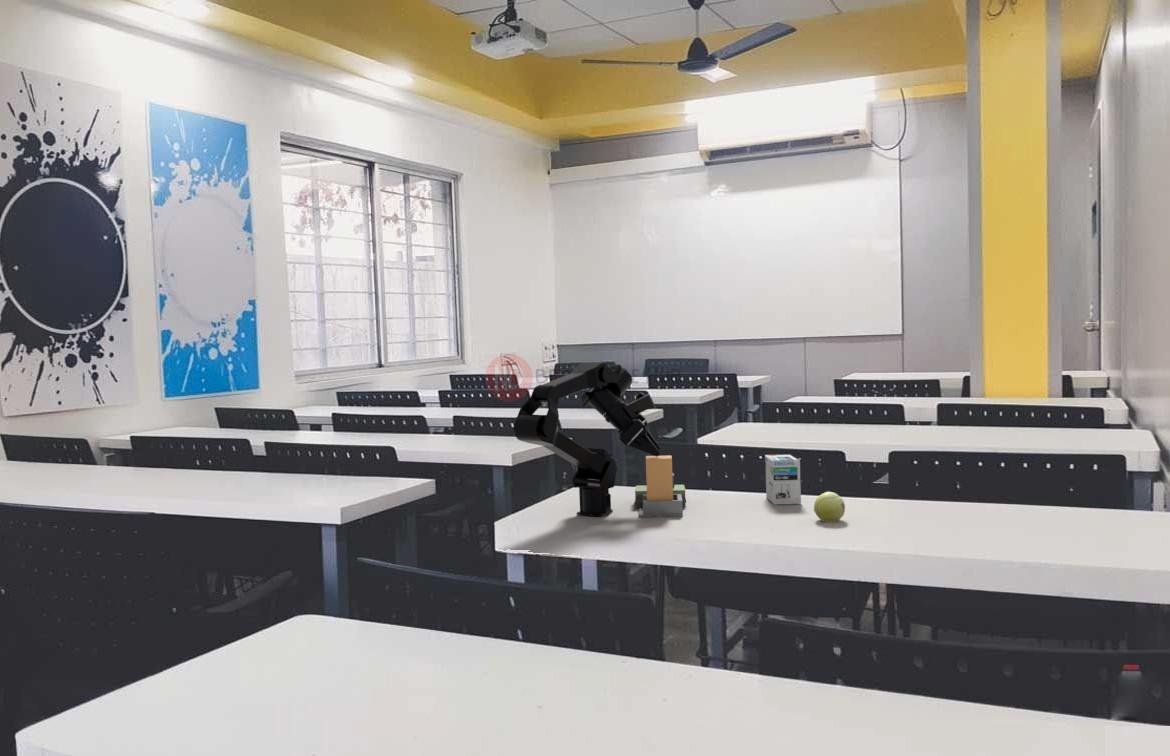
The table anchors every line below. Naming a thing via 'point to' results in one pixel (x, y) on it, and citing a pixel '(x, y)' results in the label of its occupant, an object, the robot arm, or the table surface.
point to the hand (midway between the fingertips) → (658, 452)
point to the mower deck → (643, 491)
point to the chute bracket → (662, 507)
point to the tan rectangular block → (659, 478)
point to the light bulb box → (783, 479)
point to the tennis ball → (829, 507)
